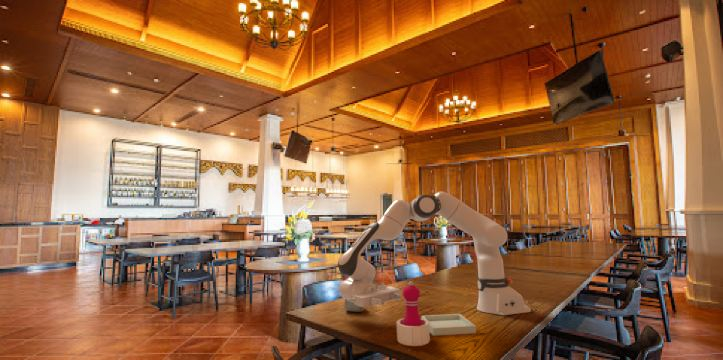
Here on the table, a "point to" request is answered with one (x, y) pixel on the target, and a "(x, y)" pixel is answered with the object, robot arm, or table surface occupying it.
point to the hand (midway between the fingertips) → (391, 300)
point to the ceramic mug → (352, 307)
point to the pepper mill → (411, 305)
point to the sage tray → (449, 324)
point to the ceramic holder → (413, 333)
